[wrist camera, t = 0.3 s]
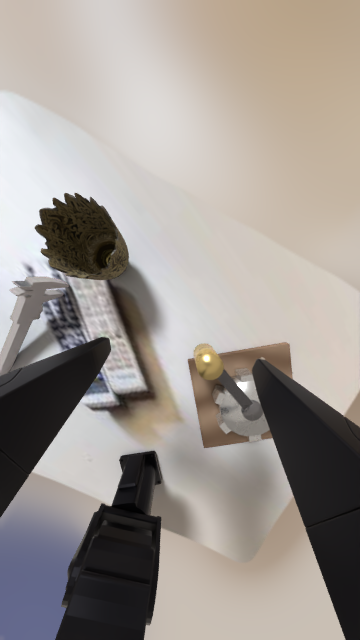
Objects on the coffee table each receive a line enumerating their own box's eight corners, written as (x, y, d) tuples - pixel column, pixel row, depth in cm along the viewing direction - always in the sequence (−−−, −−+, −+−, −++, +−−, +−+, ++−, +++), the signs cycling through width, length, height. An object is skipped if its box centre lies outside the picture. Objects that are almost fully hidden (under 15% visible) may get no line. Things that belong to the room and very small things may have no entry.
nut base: (293, 429, 23) (297, 434, 22) (203, 443, 24) (204, 448, 23) (285, 342, 21) (289, 344, 21) (187, 359, 22) (188, 361, 21)
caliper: (66, 280, 21) (17, 270, 15) (72, 285, 21) (26, 277, 15) (0, 374, 23) (-68, 400, 17) (5, 378, 23) (-60, 406, 17)
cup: (143, 286, 21) (119, 274, 13) (96, 289, 21) (43, 280, 13) (138, 234, 20) (109, 187, 12) (89, 238, 20) (27, 194, 12)
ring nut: (290, 402, 22) (330, 437, 16) (237, 439, 23) (257, 486, 17) (223, 320, 20) (240, 326, 14) (169, 364, 21) (165, 386, 15)
